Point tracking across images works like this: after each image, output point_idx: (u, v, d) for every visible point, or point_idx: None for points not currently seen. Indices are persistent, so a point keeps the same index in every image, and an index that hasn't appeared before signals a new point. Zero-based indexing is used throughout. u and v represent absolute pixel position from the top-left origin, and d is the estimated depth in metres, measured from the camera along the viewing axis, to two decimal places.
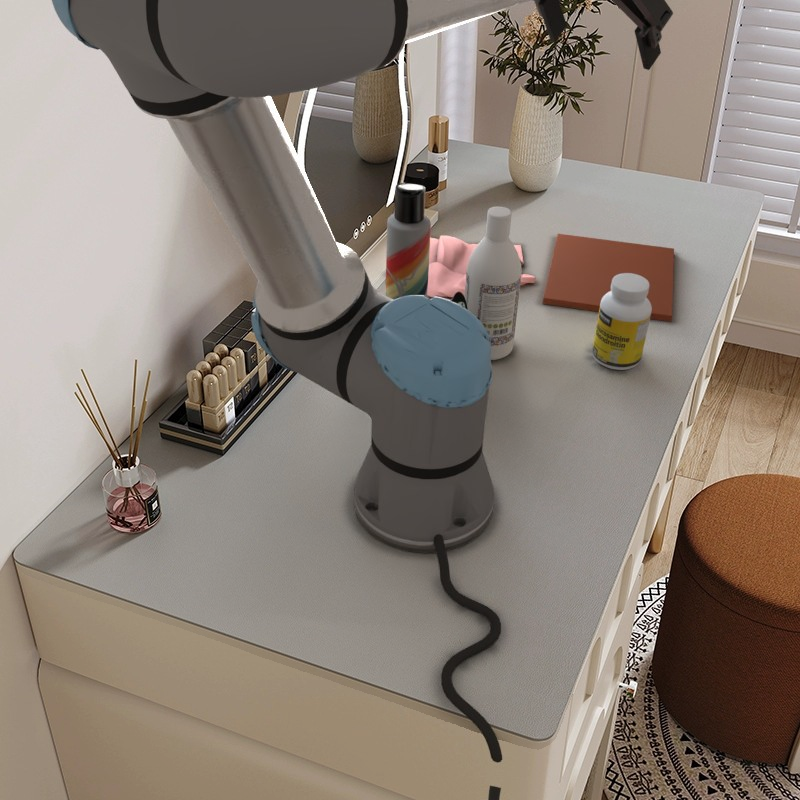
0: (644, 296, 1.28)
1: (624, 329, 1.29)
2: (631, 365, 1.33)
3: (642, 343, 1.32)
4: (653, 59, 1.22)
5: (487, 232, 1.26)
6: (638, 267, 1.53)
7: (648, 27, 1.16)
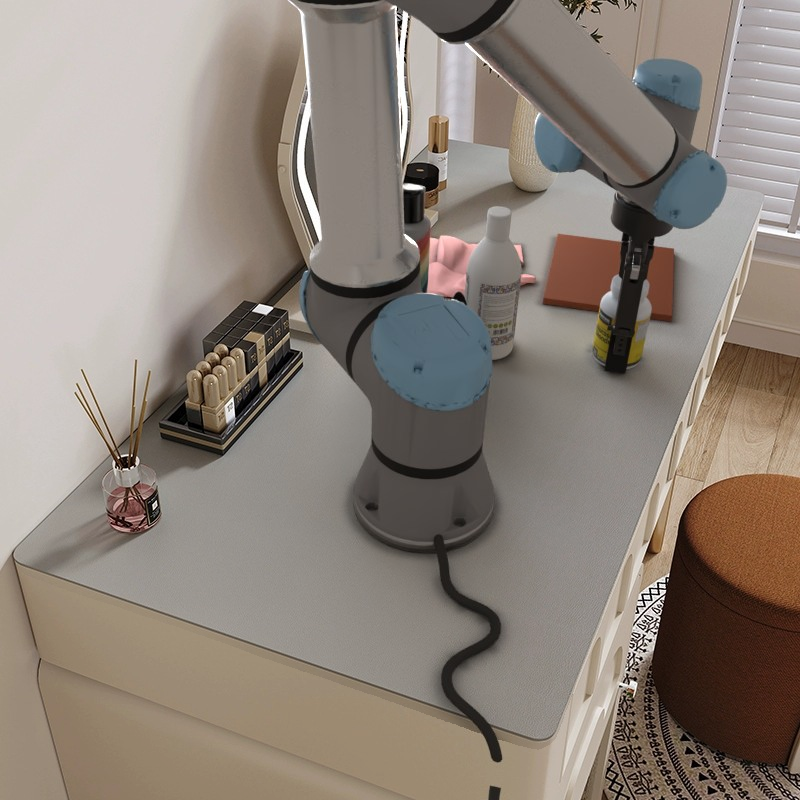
0: (644, 296, 1.28)
1: None
2: (631, 365, 1.33)
3: (642, 343, 1.32)
4: (614, 368, 1.32)
5: (487, 232, 1.26)
6: None
7: None
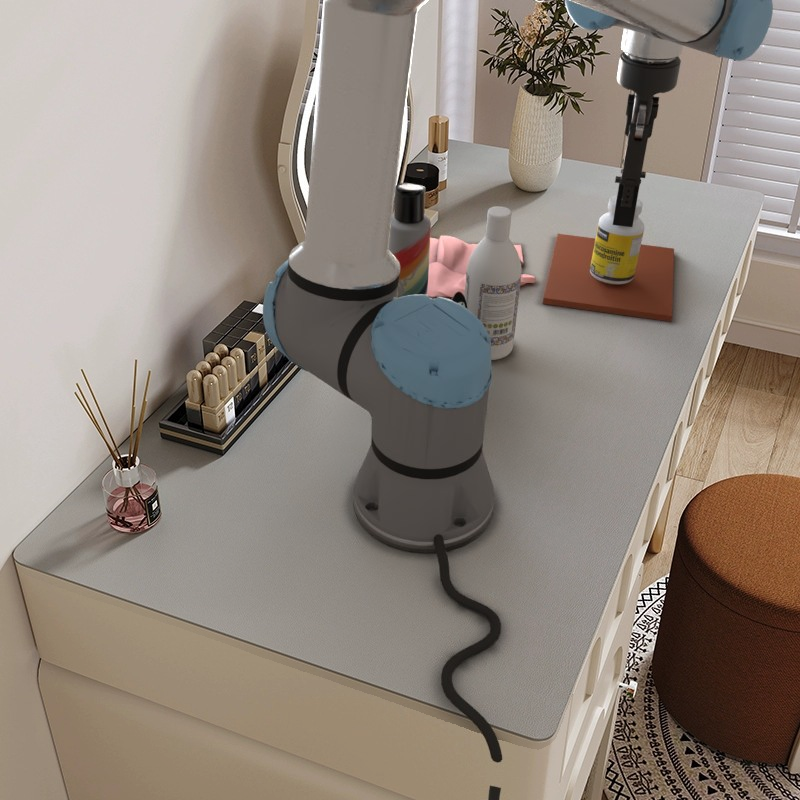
0: (638, 213, 1.43)
1: (620, 243, 1.44)
2: (625, 280, 1.47)
3: (635, 260, 1.47)
4: (621, 222, 1.42)
5: (487, 232, 1.26)
6: (638, 267, 1.53)
7: None
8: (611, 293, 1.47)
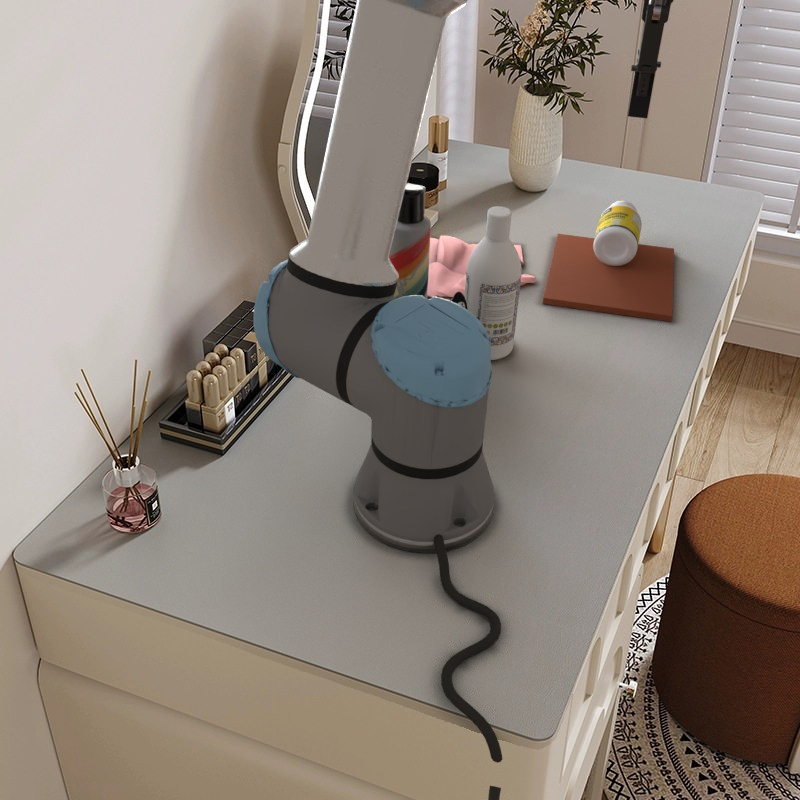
0: None
1: (623, 209, 1.54)
2: (631, 232, 1.50)
3: (638, 231, 1.52)
4: (636, 113, 1.44)
5: (487, 232, 1.26)
6: (638, 267, 1.53)
7: None
8: (611, 293, 1.47)
